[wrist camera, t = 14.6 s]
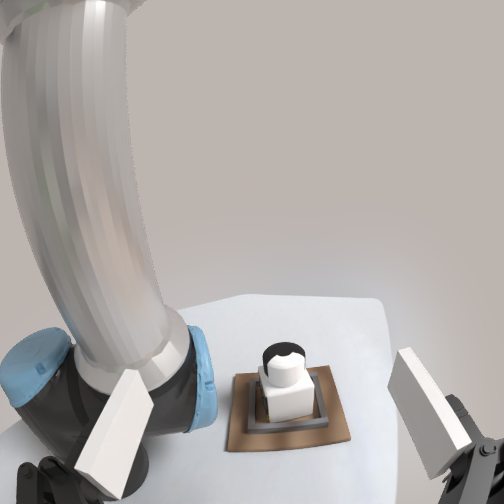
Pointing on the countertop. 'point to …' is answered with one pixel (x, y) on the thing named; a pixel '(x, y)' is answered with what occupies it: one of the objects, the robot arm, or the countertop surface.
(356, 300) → the countertop surface
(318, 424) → the dock
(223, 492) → the countertop surface
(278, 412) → the medicine bottle
